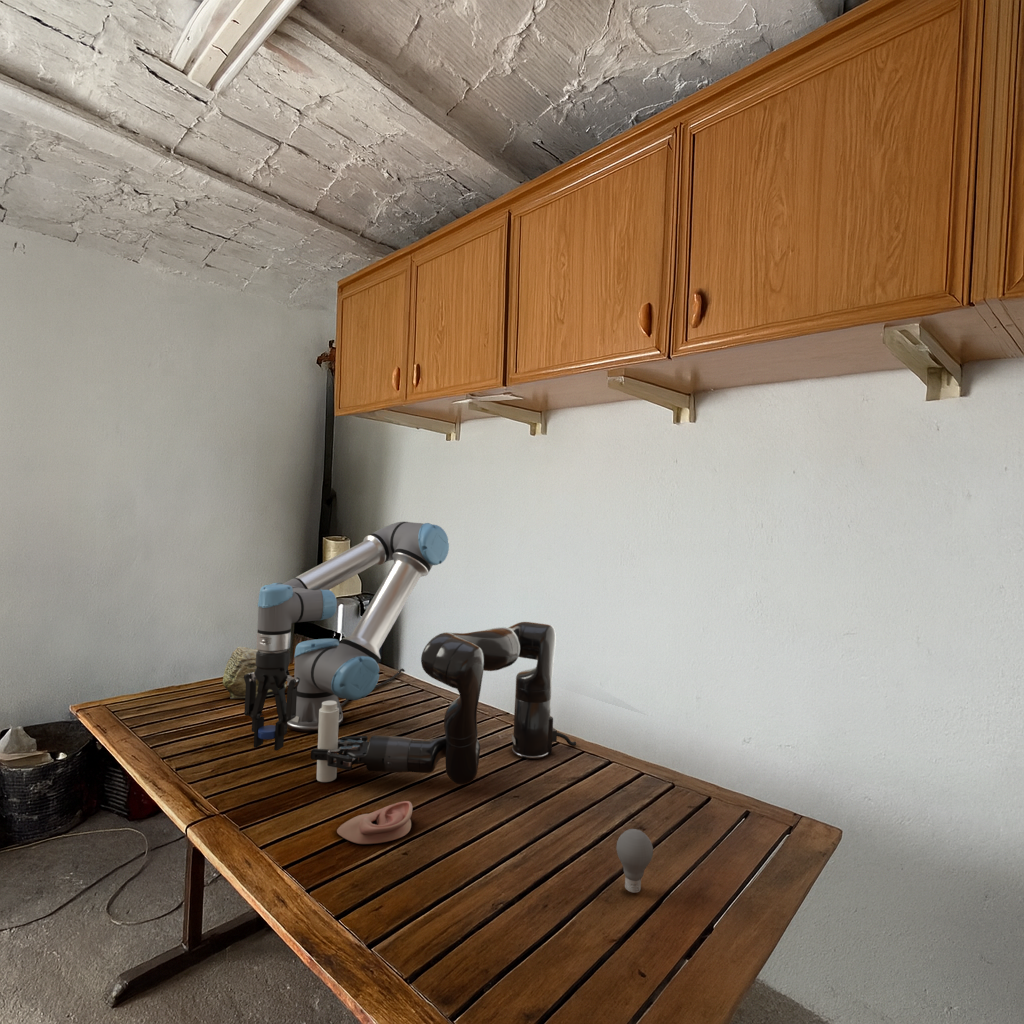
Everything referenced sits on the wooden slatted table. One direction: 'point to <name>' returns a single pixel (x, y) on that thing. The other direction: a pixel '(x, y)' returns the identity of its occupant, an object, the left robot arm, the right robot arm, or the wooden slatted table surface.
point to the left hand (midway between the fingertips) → (268, 746)
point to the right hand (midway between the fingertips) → (315, 749)
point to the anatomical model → (379, 825)
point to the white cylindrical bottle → (327, 738)
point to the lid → (266, 732)
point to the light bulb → (634, 857)
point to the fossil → (241, 672)
